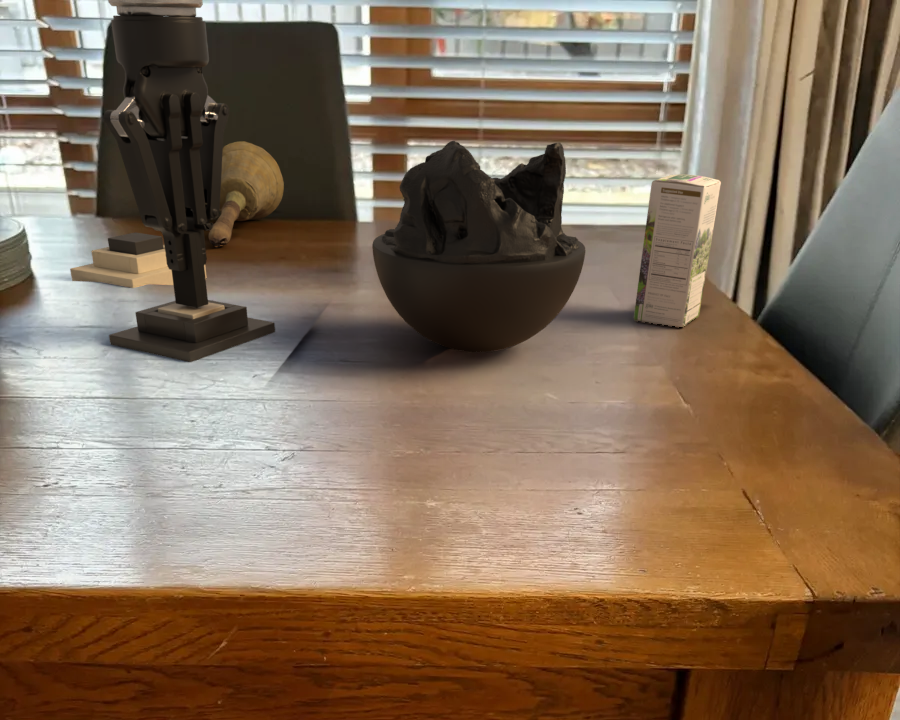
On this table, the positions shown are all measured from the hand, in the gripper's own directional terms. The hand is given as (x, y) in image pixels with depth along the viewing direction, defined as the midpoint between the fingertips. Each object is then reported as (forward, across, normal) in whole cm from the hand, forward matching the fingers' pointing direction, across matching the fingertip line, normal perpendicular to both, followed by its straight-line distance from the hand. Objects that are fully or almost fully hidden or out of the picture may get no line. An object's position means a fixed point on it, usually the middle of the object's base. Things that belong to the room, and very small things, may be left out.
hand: (192, 303), depth 92 cm
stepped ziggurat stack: (+5, +17, +25) cm, 30 cm away
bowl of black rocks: (+5, +16, -22) cm, 27 cm away
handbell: (+5, +49, +35) cm, 60 cm away
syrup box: (+5, +37, -34) cm, 51 cm away
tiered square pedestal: (+5, 0, 0) cm, 5 cm away
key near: (+2, 0, 0) cm, 2 cm away
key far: (+1, +17, +25) cm, 30 cm away
